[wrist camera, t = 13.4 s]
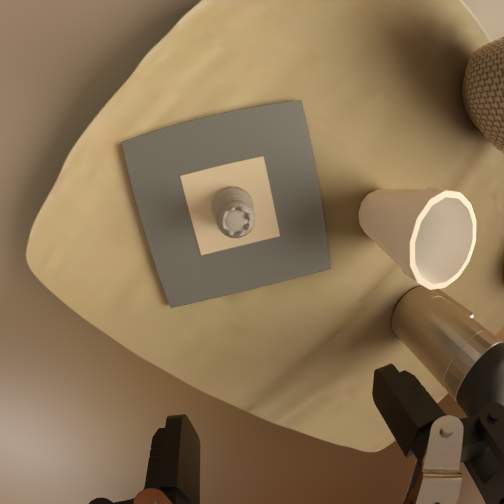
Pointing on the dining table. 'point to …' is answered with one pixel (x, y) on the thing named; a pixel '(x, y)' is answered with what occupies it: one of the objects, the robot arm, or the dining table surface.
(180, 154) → the board
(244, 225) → the rook chess piece
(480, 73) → the planter
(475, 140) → the dining table surface
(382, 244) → the foam cup
